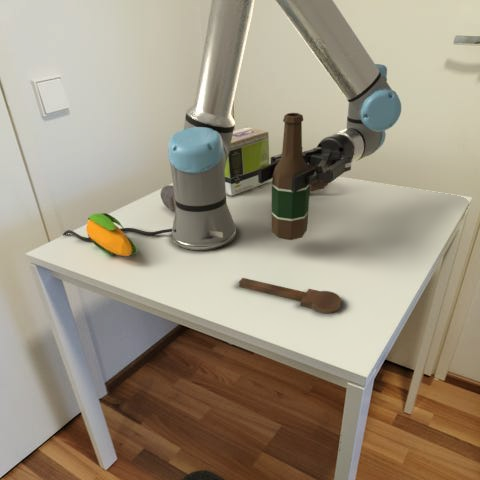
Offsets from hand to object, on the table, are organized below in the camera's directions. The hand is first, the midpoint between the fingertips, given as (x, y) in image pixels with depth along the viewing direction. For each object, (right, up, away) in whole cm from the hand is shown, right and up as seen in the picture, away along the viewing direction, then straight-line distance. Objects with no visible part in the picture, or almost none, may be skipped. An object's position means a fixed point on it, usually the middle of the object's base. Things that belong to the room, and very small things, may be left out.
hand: (276, 180), depth 87 cm
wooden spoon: (+3, -23, -1) cm, 23 cm away
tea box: (-7, +13, +47) cm, 49 cm away
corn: (-36, -11, +18) cm, 42 cm away
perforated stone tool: (-23, +2, +34) cm, 41 cm away
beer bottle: (+4, -8, +11) cm, 14 cm away
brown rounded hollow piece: (+13, +11, +43) cm, 46 cm away
